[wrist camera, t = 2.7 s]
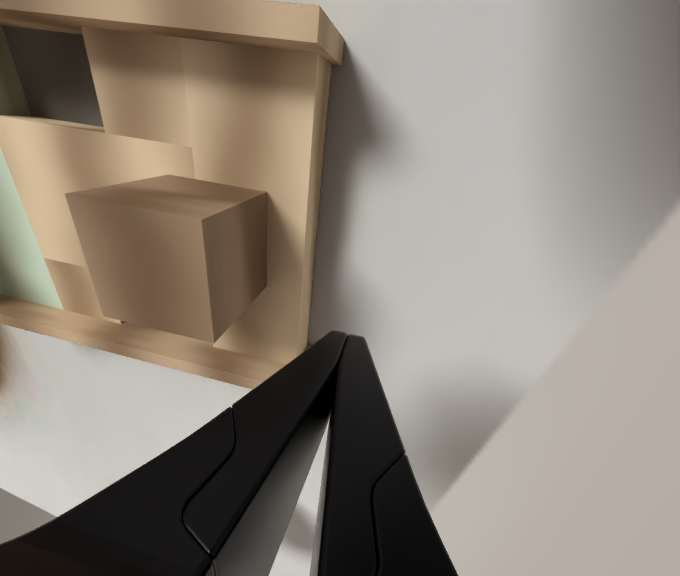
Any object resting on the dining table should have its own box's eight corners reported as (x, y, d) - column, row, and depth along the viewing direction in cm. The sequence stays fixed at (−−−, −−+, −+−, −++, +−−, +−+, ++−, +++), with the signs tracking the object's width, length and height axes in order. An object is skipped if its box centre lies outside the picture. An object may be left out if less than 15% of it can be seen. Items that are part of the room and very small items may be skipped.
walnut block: (267, 191, 12) (201, 219, 8) (266, 286, 15) (214, 343, 11) (168, 174, 13) (64, 193, 9) (182, 268, 15) (103, 316, 11)
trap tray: (344, 39, 11) (302, -18, 7) (312, 356, 19) (282, 424, 14) (-107, -9, 14) (-344, -73, 9) (25, 287, 21) (-73, 327, 17)
